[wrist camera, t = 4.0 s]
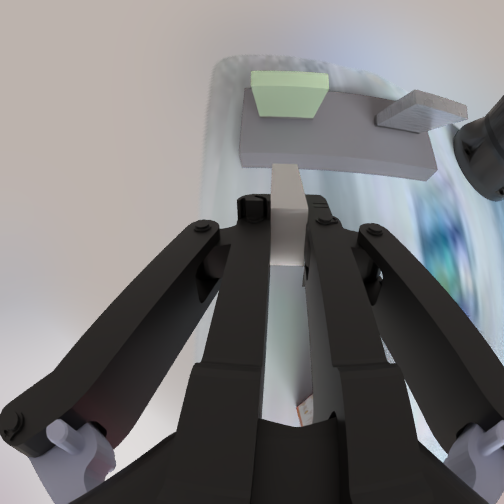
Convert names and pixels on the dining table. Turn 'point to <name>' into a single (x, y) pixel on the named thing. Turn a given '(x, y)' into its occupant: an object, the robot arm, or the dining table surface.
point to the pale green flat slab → (288, 93)
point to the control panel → (335, 140)
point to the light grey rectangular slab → (420, 113)
